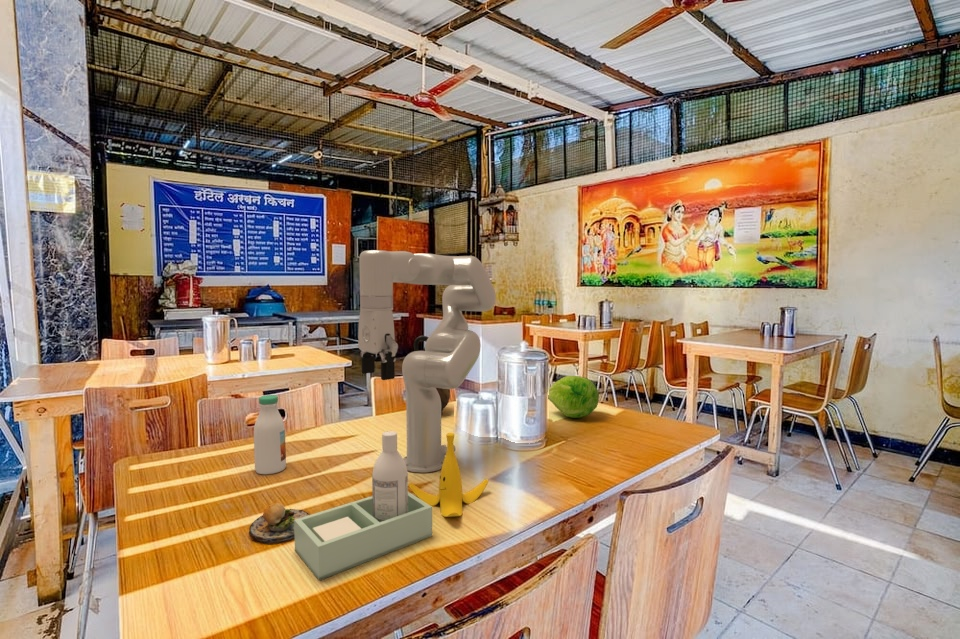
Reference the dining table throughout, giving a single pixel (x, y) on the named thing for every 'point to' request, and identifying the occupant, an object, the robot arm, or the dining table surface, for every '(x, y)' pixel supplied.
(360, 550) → the box
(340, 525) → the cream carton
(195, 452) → the dining table surface
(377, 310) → the robot arm
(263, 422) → the milk bottle
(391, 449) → the bath foam
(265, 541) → the burger
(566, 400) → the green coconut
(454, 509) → the banana peel
